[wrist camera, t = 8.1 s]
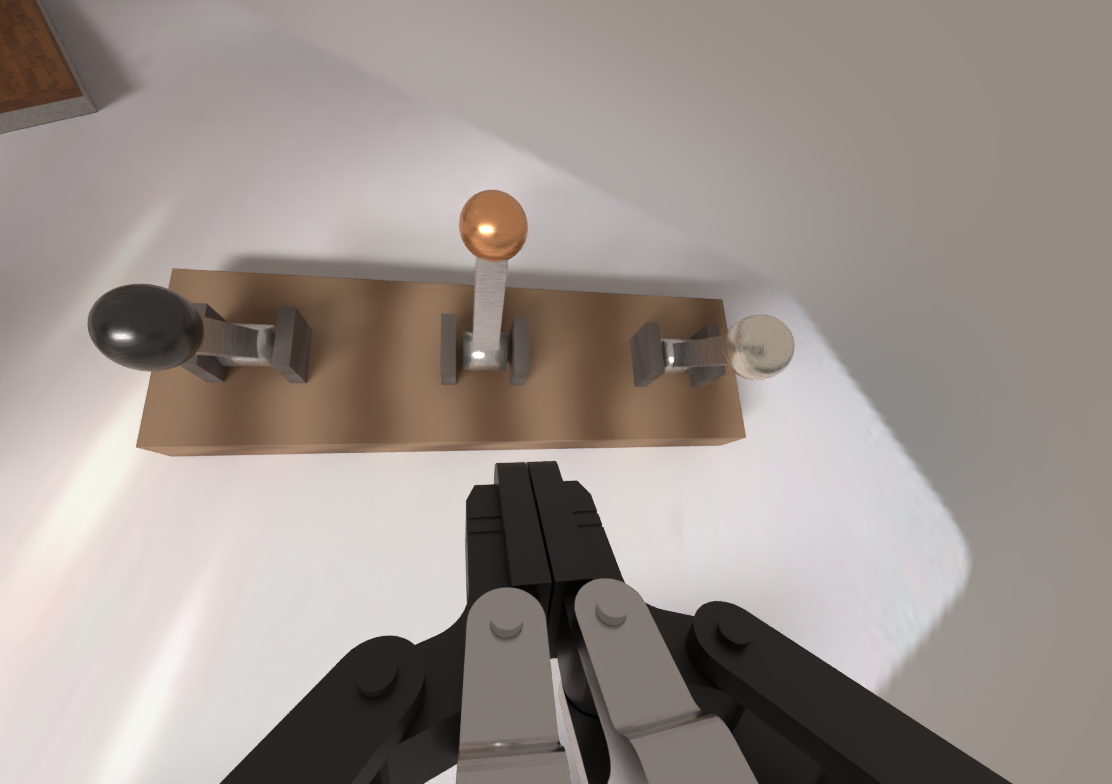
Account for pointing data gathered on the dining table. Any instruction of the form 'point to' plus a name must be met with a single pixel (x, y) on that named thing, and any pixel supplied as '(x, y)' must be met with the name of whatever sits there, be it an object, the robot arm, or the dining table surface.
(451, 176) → the dining table surface
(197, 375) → the switch panel
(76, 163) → the dining table surface
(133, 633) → the dining table surface
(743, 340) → the cream lever
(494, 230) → the orange lever
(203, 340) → the black lever
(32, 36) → the display case
